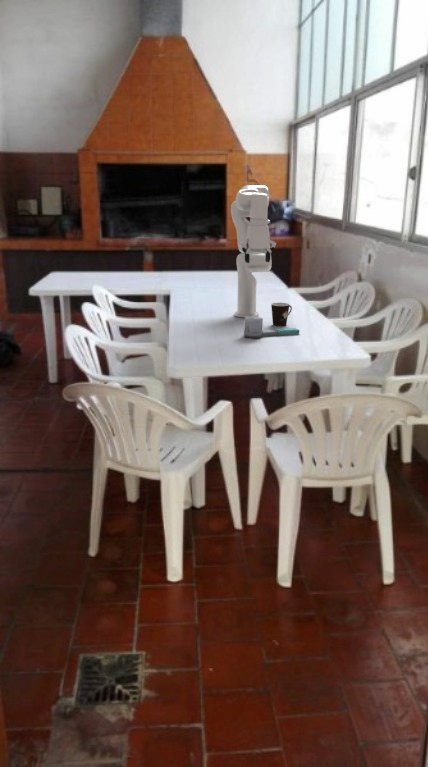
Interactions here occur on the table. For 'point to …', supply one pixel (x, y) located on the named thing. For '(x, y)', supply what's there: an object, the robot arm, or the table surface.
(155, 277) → the table surface
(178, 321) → the table surface
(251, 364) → the table surface
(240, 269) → the robot arm
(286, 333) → the ratchet
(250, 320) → the brushed metal cube
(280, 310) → the coffee mug
